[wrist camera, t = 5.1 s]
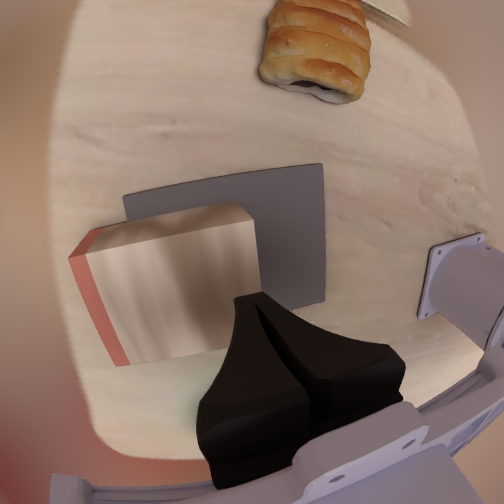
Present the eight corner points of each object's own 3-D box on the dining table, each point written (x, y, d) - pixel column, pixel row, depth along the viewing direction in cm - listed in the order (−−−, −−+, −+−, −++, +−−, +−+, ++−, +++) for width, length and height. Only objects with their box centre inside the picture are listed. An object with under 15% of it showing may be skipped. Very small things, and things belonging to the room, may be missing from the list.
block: (253, 220, 13) (67, 258, 12) (266, 338, 16) (115, 366, 15) (237, 200, 17) (89, 230, 15) (250, 301, 20) (123, 326, 18)
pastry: (270, -32, 12) (290, -59, 8) (360, -1, 13) (392, -17, 10) (251, 88, 15) (271, 77, 12) (350, 110, 17) (386, 110, 13)
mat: (319, 163, 17) (322, 163, 17) (322, 298, 22) (325, 300, 21) (123, 195, 15) (122, 197, 15) (163, 333, 20) (163, 337, 19)
